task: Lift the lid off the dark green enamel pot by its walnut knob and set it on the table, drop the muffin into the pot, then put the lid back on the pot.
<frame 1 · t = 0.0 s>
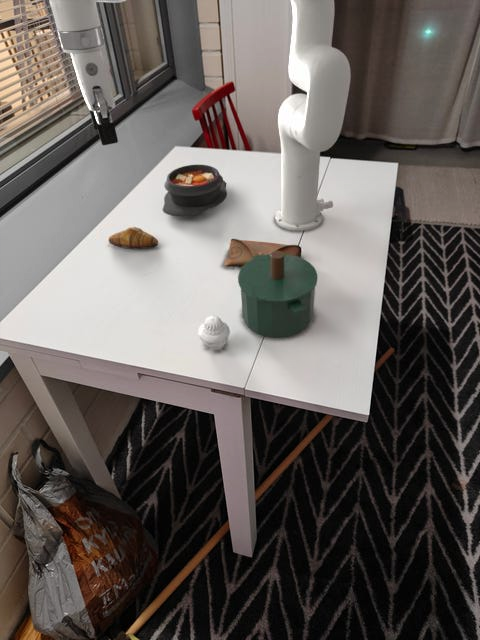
hand: (105, 135, 94), 31 cm above the table, tool pointing down, fingers open, 9 cm apart
lid: (277, 278, 91), point 9 cm above the table, touching pot
croissant: (134, 245, 121), on the table
casserole: (196, 202, 137), on the table
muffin: (215, 345, 92), on the table
sunglasses case: (262, 262, 112), on the table
pot: (277, 314, 97), on the table
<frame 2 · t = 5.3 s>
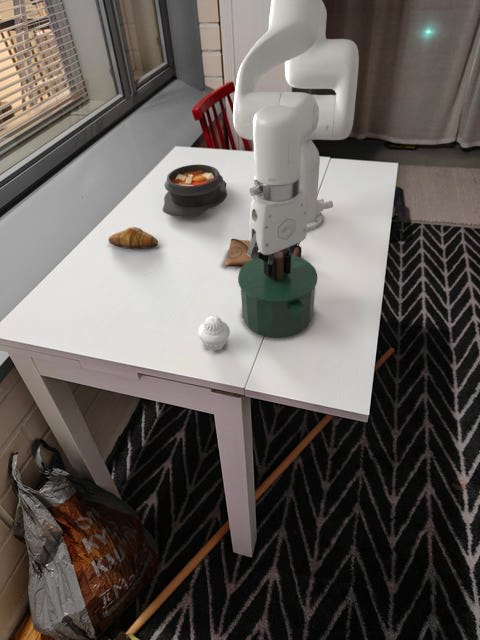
hand: (277, 273, 90), 11 cm above the table, tool pointing down, fingers closed on lid, 2 cm apart
lid: (277, 278, 91), point 10 cm above the table, touching gripper, pot
everything else where it was.
when the fingers open (2 cm above the table, at t = 13.3 s): lid stays where it is, point 1 cm above the table.
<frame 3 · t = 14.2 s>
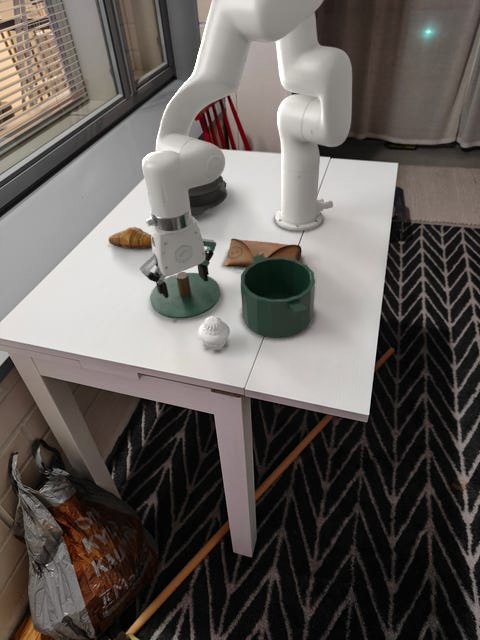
hand: (184, 286, 101), 3 cm above the table, tool pointing down, fingers open, 9 cm apart
lid: (185, 295, 103), point 1 cm above the table
everything else where it was.
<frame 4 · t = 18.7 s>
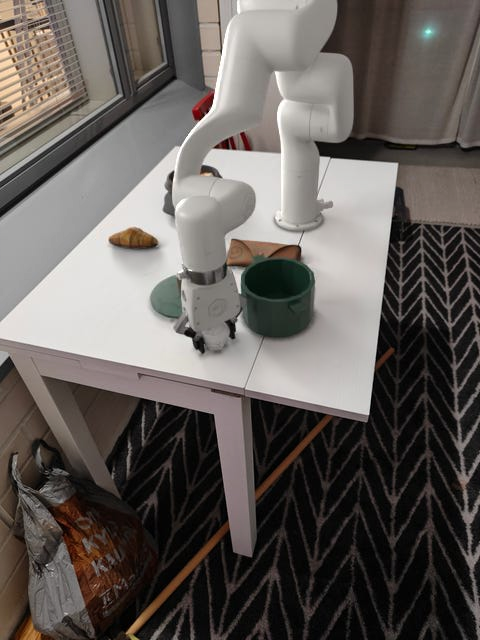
hand: (215, 341, 91), 1 cm above the table, tool pointing down, fingers closed on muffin, 6 cm apart
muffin: (215, 345, 92), on the table, touching gripper
everything else where it was.
when the fingers open (9 cm above the table, at t = 23.7 s): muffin drops 7 cm, resting on pot.
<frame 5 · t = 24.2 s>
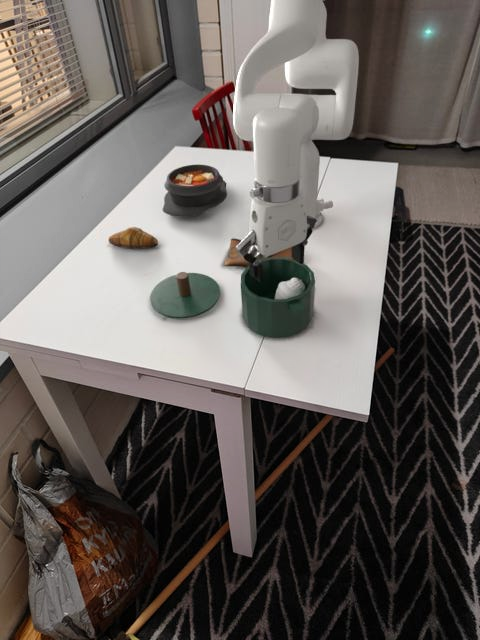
hand: (277, 269, 90), 12 cm above the table, tool pointing down, fingers open, 9 cm apart
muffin: (279, 306, 96), point 2 cm above the table, touching pot
everything else where it was.
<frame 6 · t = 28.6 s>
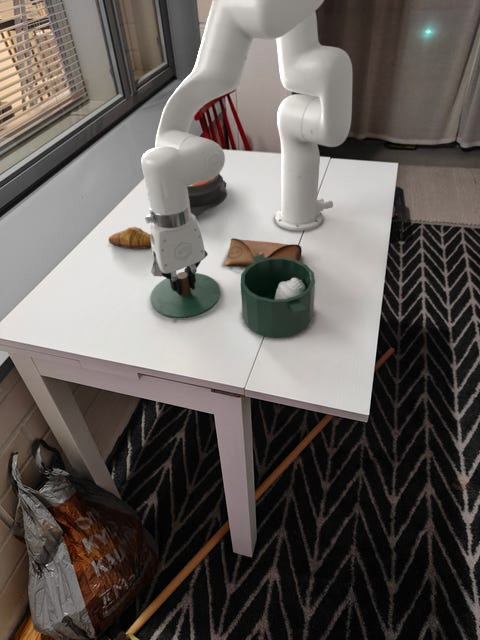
hand: (184, 288, 102), 3 cm above the table, tool pointing down, fingers closed on lid, 2 cm apart
lid: (185, 295, 103), point 1 cm above the table, touching gripper
everything else where it was.
when the fingers open (11 cm above the table, at t = 35.8 s): lid stays where it is, resting on pot.
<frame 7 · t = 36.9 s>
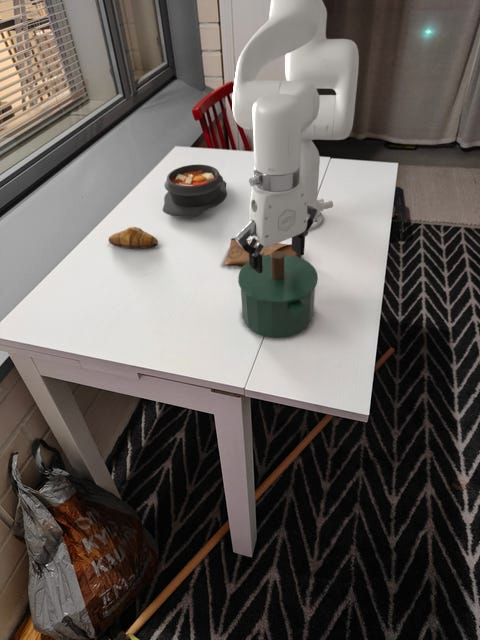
hand: (277, 260, 89), 14 cm above the table, tool pointing down, fingers open, 9 cm apart
lid: (277, 278, 91), point 9 cm above the table, touching pot
everything else where it was.
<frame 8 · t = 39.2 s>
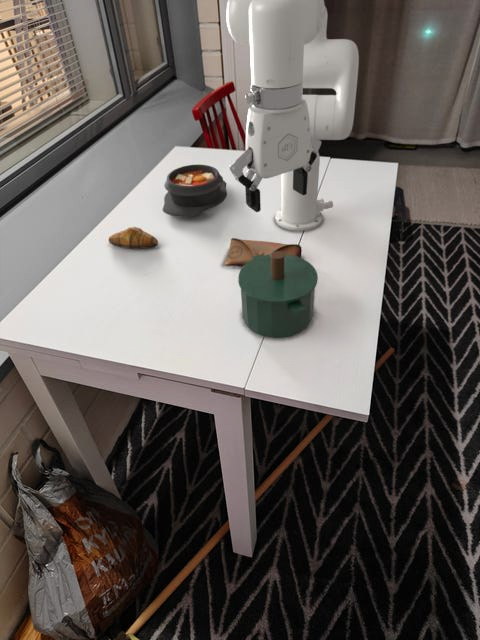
hand: (277, 200, 80), 26 cm above the table, tool pointing down, fingers open, 9 cm apart
nothing on the table moved.
at the end: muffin inside the target area in the pot (0.5 cm from its centre), point 1.9 cm above the pot's base; lid 0.1 cm off-centre on the pot, point 9.5 cm above the pot's base; lid tilted 0° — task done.
